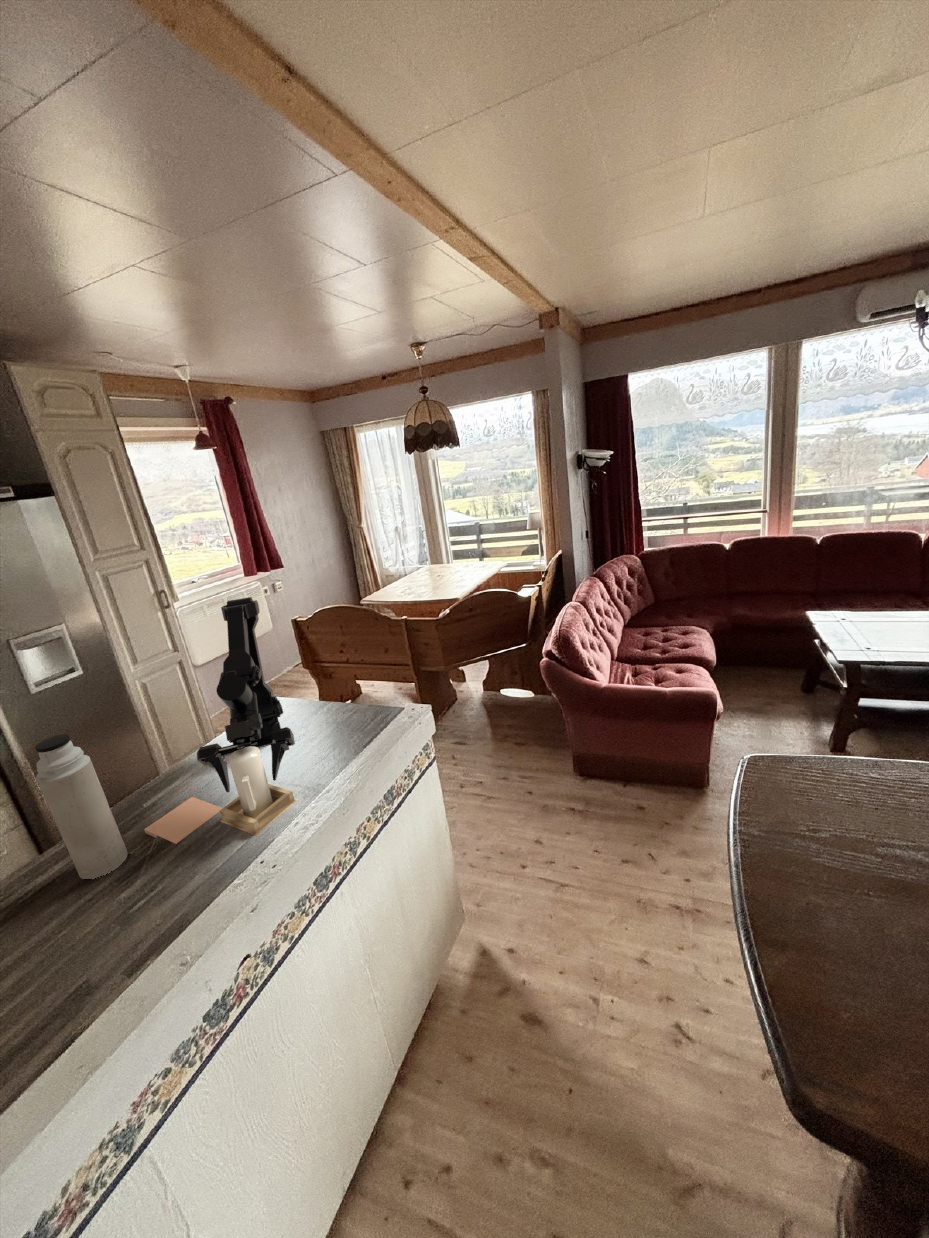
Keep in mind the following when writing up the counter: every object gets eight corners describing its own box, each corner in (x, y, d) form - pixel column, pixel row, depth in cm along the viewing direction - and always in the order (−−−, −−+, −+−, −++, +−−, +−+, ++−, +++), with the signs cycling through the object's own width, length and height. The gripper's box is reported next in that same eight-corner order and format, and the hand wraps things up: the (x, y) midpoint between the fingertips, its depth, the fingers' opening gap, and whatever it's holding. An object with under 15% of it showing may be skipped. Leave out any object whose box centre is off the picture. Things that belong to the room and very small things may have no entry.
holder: (220, 824, 104) (216, 811, 103) (263, 792, 114) (259, 779, 113) (257, 839, 99) (253, 825, 98) (298, 803, 108) (295, 790, 107)
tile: (145, 833, 104) (144, 829, 104) (193, 800, 113) (191, 796, 113) (177, 847, 99) (175, 843, 99) (224, 812, 108) (223, 808, 108)
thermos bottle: (101, 848, 101) (52, 729, 92) (137, 847, 100) (90, 727, 91) (68, 880, 94) (11, 753, 85) (106, 880, 93) (52, 752, 84)
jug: (245, 805, 108) (230, 750, 104) (274, 798, 110) (260, 743, 105) (241, 830, 101) (224, 772, 96) (272, 822, 102) (257, 764, 98)
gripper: (186, 714, 101) (189, 791, 94) (281, 693, 105) (291, 765, 99) (203, 729, 110) (207, 800, 104) (290, 710, 115) (299, 777, 108)
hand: (251, 785), depth 103 cm, fingers open, 9 cm apart
